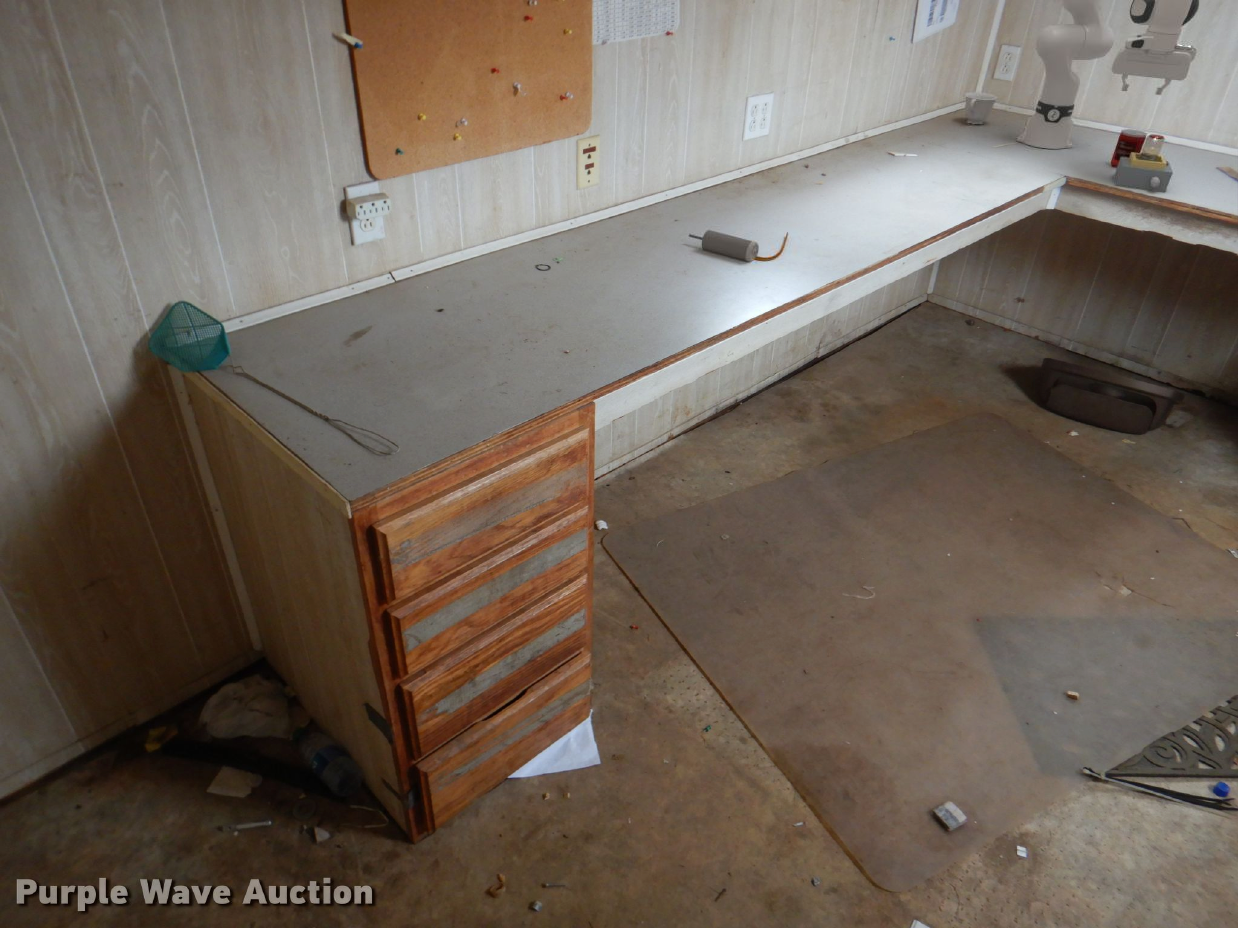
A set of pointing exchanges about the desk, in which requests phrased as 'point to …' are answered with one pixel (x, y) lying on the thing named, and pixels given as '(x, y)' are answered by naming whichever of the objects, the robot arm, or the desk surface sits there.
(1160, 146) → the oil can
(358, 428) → the desk surface
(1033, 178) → the desk surface
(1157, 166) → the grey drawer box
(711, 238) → the motor
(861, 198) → the desk surface
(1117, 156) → the canned food
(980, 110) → the teacup
